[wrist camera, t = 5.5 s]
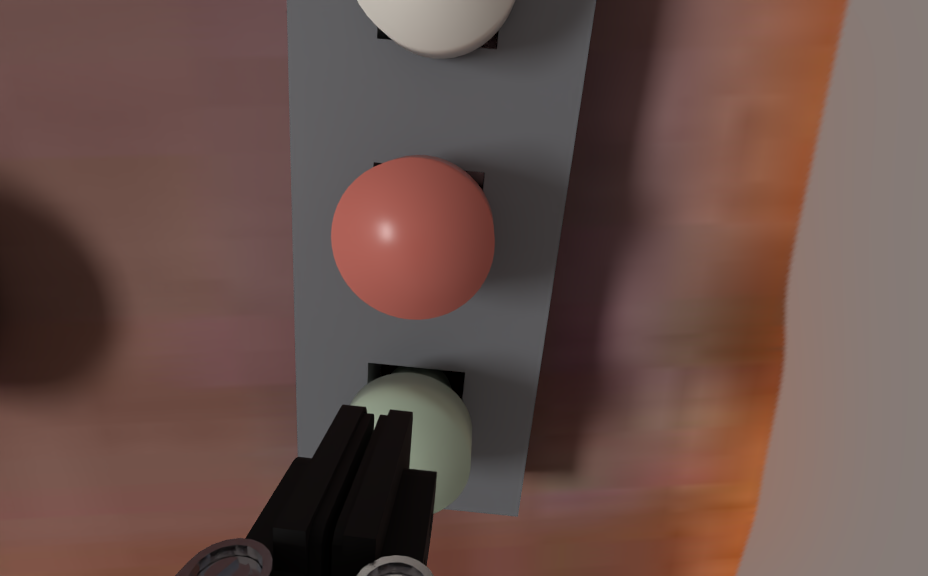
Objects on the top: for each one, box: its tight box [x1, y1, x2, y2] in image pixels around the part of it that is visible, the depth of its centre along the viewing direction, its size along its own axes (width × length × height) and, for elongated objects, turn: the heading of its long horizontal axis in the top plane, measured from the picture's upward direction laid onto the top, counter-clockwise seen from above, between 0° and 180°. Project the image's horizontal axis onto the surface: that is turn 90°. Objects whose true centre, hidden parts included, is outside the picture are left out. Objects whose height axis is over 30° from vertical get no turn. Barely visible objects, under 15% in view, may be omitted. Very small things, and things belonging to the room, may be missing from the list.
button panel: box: [287, 0, 596, 517], centre depth 20 cm, size 26×10×3 cm, turn 175°
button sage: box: [350, 366, 472, 514], centre depth 20 cm, size 5×5×5 cm
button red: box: [331, 155, 495, 320], centre depth 17 cm, size 5×5×5 cm
